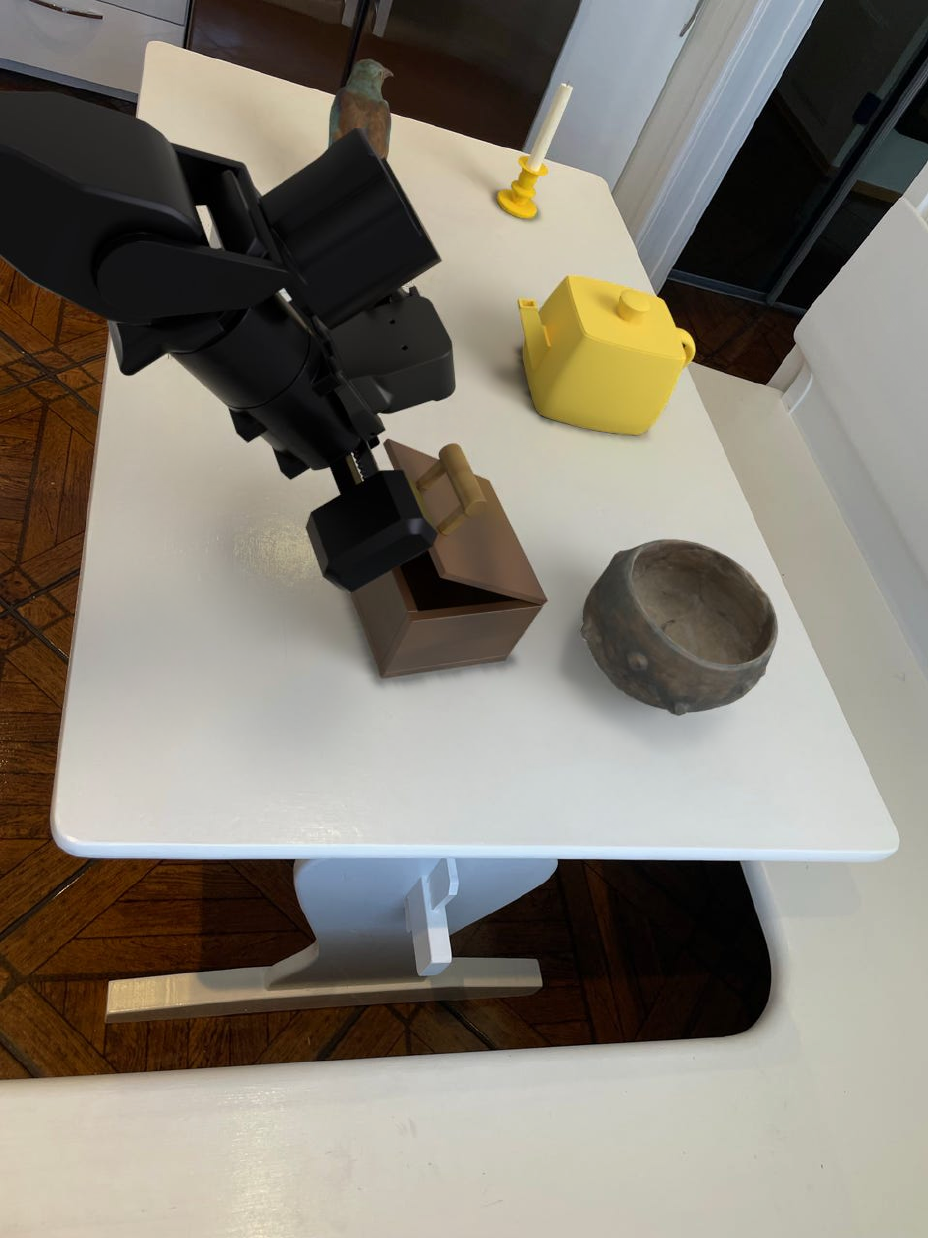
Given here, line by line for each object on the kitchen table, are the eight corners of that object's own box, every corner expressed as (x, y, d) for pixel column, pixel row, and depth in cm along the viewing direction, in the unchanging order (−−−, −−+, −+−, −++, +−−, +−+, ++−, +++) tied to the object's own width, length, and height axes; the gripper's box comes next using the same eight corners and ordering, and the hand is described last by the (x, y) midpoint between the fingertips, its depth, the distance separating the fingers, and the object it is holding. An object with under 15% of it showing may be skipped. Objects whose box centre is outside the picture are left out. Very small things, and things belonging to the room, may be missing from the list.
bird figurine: (399, 278, 96) (447, 64, 89) (304, 252, 93) (346, 29, 86) (383, 271, 108) (424, 82, 101) (298, 248, 105) (335, 52, 98)
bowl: (748, 724, 77) (824, 659, 70) (602, 761, 70) (670, 693, 62) (669, 590, 84) (731, 518, 76) (527, 611, 76) (581, 533, 69)
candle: (491, 189, 116) (541, 62, 104) (527, 196, 118) (581, 72, 106) (504, 215, 113) (557, 87, 101) (540, 221, 115) (597, 97, 104)
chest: (381, 679, 67) (411, 622, 62) (335, 553, 73) (359, 490, 67) (505, 660, 72) (543, 606, 67) (453, 544, 78) (485, 485, 72)
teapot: (494, 414, 90) (543, 314, 81) (477, 332, 97) (521, 232, 88) (670, 448, 97) (734, 360, 88) (643, 369, 104) (699, 280, 95)
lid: (439, 577, 58) (488, 535, 56) (382, 443, 64) (424, 400, 62) (542, 605, 67) (588, 569, 65) (484, 484, 72) (524, 448, 70)
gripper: (466, 408, 40) (564, 550, 54) (341, 156, 49) (452, 333, 62) (255, 534, 42) (401, 640, 56) (171, 271, 51) (315, 418, 64)
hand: (395, 498), depth 60 cm, fingers open, 9 cm apart
